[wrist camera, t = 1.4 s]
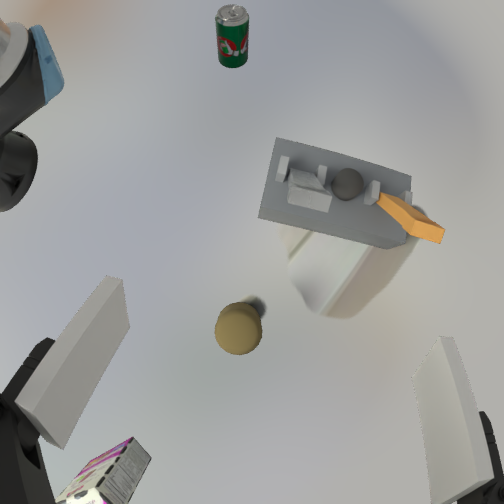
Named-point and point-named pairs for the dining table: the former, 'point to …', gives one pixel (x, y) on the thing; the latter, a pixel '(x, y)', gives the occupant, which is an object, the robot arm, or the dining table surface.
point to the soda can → (232, 35)
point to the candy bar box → (108, 476)
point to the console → (340, 212)
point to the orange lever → (411, 218)
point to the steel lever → (307, 191)
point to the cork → (238, 328)
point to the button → (347, 184)
